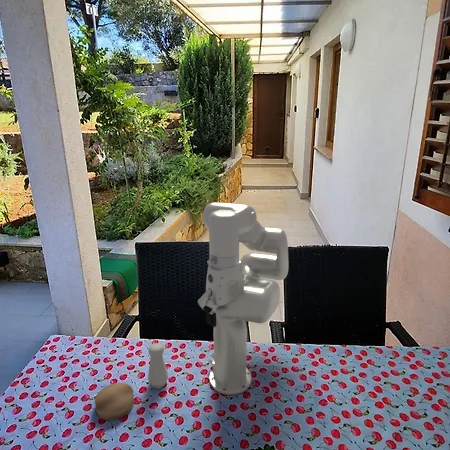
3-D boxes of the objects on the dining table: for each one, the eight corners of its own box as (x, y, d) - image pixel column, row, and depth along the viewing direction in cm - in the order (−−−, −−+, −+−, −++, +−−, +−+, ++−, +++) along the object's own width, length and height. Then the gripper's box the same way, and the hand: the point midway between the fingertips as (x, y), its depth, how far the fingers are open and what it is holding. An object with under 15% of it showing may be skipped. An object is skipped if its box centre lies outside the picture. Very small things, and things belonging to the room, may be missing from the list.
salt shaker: (164, 392, 98) (161, 354, 94) (145, 389, 99) (141, 351, 95) (171, 378, 103) (168, 341, 99) (153, 375, 104) (150, 339, 101)
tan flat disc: (90, 403, 94) (89, 395, 93) (124, 385, 100) (123, 377, 100) (105, 427, 87) (103, 417, 86) (140, 406, 93) (139, 397, 92)
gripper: (208, 273, 79) (209, 337, 84) (257, 253, 90) (256, 310, 95) (188, 264, 84) (191, 324, 89) (237, 246, 95) (237, 301, 100)
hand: (225, 317), depth 92 cm, fingers open, 9 cm apart
